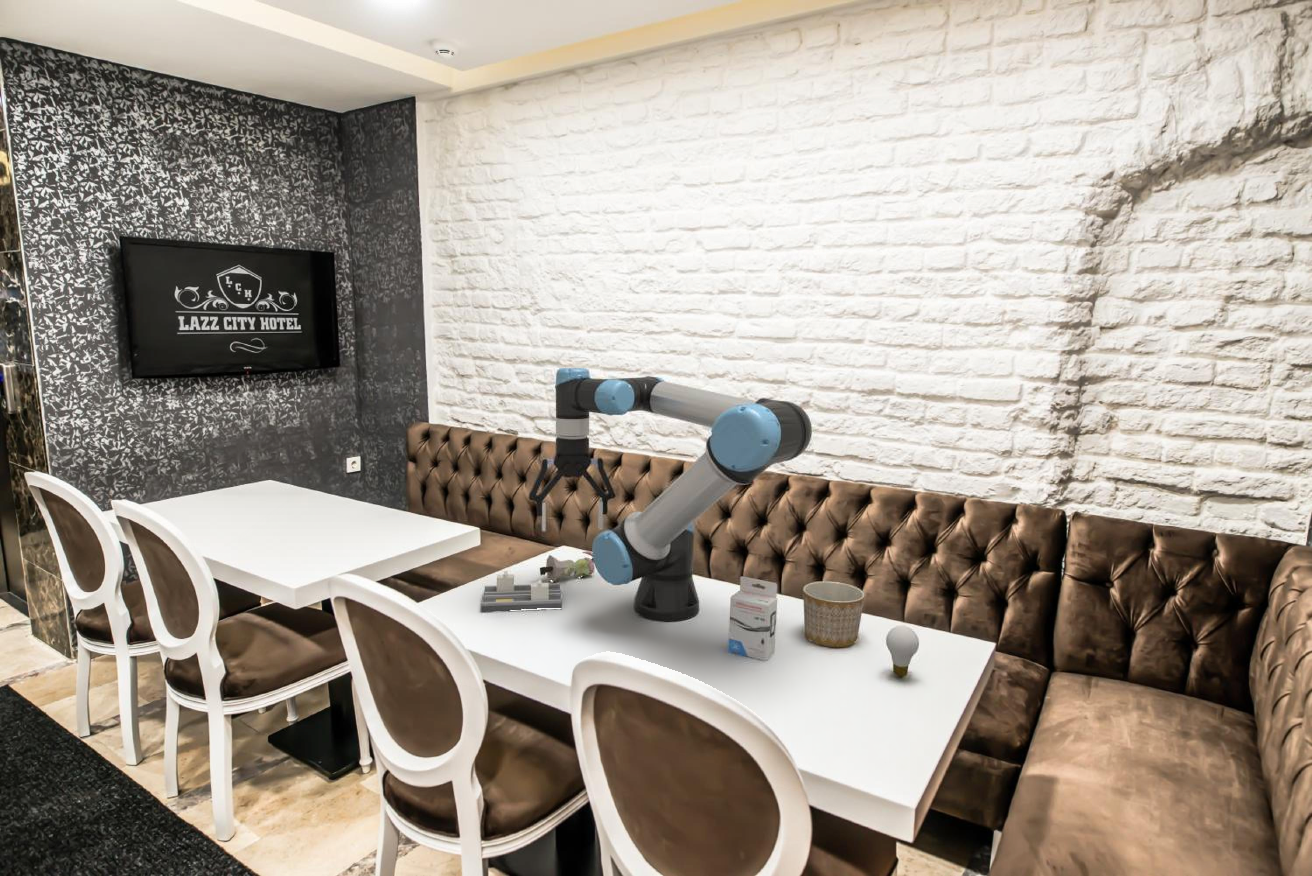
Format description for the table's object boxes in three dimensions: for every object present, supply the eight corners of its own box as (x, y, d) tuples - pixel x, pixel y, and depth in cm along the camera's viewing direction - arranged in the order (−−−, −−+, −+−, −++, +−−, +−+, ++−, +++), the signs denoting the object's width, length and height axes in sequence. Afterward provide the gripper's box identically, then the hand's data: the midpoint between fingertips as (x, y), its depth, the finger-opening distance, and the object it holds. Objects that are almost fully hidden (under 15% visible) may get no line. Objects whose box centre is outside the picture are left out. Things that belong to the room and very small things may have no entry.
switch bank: (559, 591, 185) (559, 583, 184) (561, 609, 173) (561, 600, 173) (484, 594, 182) (484, 585, 181) (481, 612, 170) (481, 603, 170)
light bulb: (890, 667, 147) (894, 618, 145) (920, 676, 143) (924, 626, 142) (878, 677, 142) (882, 627, 141) (909, 687, 138) (913, 635, 137)
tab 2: (548, 597, 176) (548, 579, 175) (548, 600, 173) (548, 582, 173) (530, 597, 175) (530, 580, 174) (530, 601, 173) (530, 583, 172)
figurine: (549, 583, 186) (604, 577, 193) (546, 553, 187) (601, 548, 195) (537, 585, 193) (590, 580, 201) (535, 556, 195) (588, 552, 202)
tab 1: (514, 588, 181) (514, 570, 181) (513, 591, 179) (513, 574, 178) (497, 588, 181) (497, 571, 180) (496, 592, 178) (496, 574, 178)
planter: (812, 622, 169) (814, 577, 167) (868, 635, 162) (871, 588, 161) (791, 641, 158) (794, 593, 156) (851, 656, 151) (854, 606, 150)
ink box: (726, 652, 152) (729, 582, 150) (736, 643, 156) (739, 575, 154) (766, 661, 148) (769, 590, 146) (775, 652, 152) (778, 582, 150)
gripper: (623, 433, 176) (622, 523, 179) (517, 434, 171) (518, 526, 174) (628, 438, 168) (627, 531, 171) (517, 439, 164) (518, 534, 167)
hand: (572, 529), depth 173 cm, fingers open, 12 cm apart
